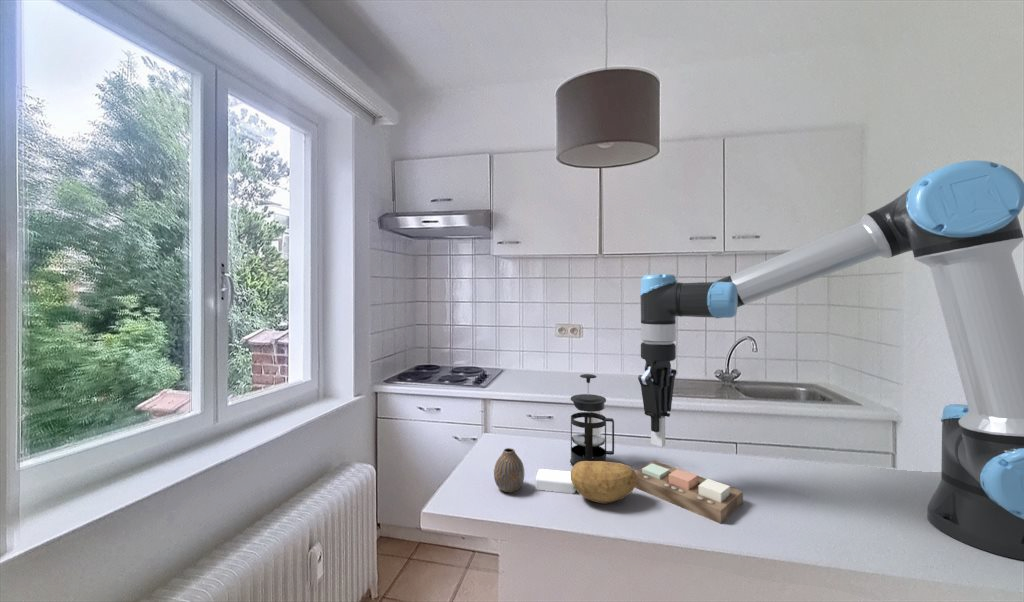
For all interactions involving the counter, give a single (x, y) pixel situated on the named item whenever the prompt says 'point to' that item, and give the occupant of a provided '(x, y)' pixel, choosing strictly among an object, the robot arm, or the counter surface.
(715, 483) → the cream button
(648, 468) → the sage button
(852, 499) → the counter surface
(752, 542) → the counter surface
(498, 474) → the vase
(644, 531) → the counter surface
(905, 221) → the robot arm
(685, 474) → the terracotta button
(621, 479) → the potato
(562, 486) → the soap
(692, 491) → the console
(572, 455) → the french press
